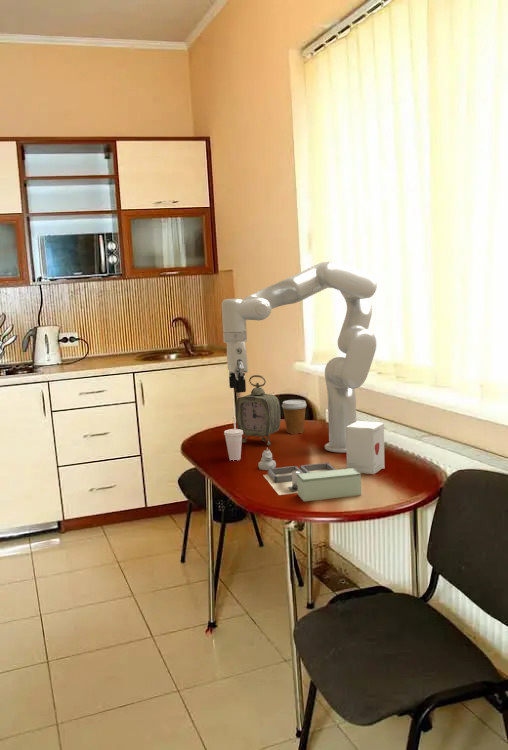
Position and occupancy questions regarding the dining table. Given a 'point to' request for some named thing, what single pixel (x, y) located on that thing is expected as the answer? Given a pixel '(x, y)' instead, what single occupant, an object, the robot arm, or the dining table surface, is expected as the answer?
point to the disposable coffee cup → (294, 415)
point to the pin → (295, 479)
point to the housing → (329, 484)
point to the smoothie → (234, 442)
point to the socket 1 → (282, 470)
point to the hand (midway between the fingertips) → (237, 389)
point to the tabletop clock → (258, 413)
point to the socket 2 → (316, 467)
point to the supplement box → (365, 446)
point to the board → (284, 484)
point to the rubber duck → (267, 461)
